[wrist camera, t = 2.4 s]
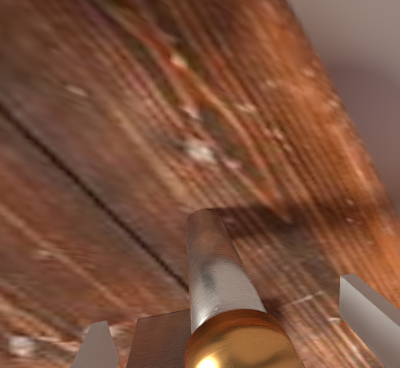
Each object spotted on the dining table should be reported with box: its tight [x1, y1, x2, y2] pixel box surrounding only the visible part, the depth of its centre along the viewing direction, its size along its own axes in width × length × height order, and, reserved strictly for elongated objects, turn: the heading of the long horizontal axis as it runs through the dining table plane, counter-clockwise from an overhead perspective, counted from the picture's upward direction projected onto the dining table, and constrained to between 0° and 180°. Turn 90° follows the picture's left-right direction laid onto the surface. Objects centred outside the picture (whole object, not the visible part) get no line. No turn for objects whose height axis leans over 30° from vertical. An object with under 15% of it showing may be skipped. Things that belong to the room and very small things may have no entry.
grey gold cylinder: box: [184, 209, 305, 368], centre depth 14 cm, size 5×5×14 cm
